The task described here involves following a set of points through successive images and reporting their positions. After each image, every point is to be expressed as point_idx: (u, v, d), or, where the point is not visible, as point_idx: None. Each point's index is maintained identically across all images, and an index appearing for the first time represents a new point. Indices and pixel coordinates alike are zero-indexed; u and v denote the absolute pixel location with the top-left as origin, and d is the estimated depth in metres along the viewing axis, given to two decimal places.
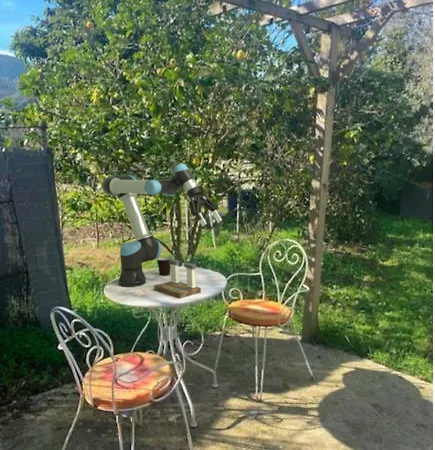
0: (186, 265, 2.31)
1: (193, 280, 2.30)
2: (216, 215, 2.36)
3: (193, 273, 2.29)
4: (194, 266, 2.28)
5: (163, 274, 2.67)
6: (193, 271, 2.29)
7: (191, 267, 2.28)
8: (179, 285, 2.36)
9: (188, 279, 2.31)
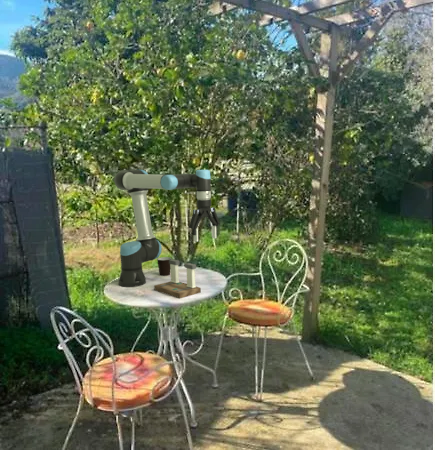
0: (186, 265, 2.31)
1: (193, 280, 2.30)
2: (214, 231, 2.38)
3: (193, 273, 2.29)
4: (194, 266, 2.28)
5: (163, 274, 2.67)
6: (193, 271, 2.29)
7: (191, 267, 2.28)
8: (179, 285, 2.36)
9: (188, 279, 2.31)
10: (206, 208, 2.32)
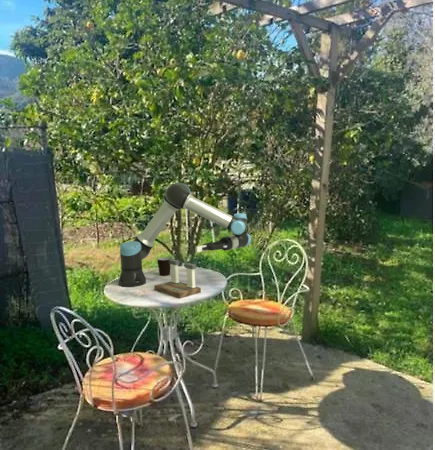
0: (186, 265, 2.31)
1: (193, 280, 2.30)
2: None
3: (193, 273, 2.29)
4: (194, 266, 2.28)
5: (163, 274, 2.67)
6: (193, 271, 2.29)
7: (191, 267, 2.28)
8: (179, 285, 2.36)
9: (188, 279, 2.31)
10: None
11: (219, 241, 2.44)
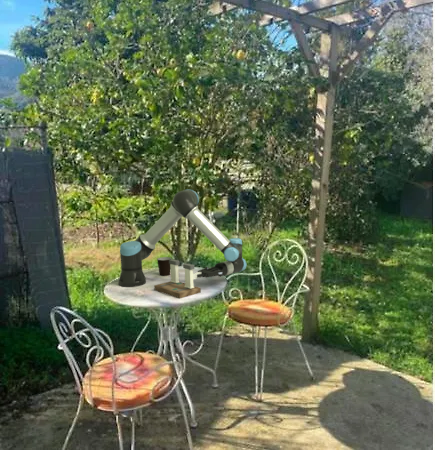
0: (184, 265, 2.30)
1: (191, 280, 2.29)
2: None
3: (191, 273, 2.28)
4: (192, 266, 2.27)
5: (163, 274, 2.67)
6: (191, 271, 2.28)
7: (189, 267, 2.27)
8: (179, 285, 2.36)
9: (186, 280, 2.30)
10: None
11: (214, 267, 2.43)
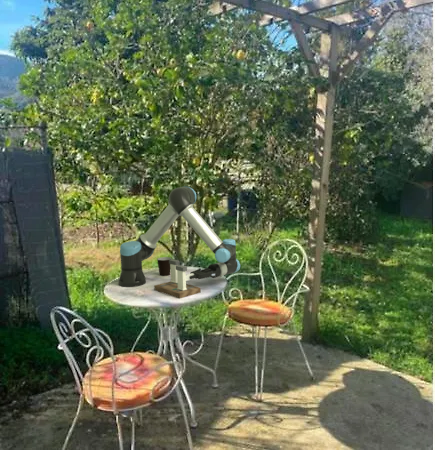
0: (177, 267, 2.26)
1: (184, 282, 2.25)
2: None
3: (184, 275, 2.25)
4: (185, 268, 2.24)
5: (163, 274, 2.67)
6: (184, 273, 2.25)
7: (182, 269, 2.24)
8: None
9: (179, 281, 2.27)
10: None
11: (207, 268, 2.40)
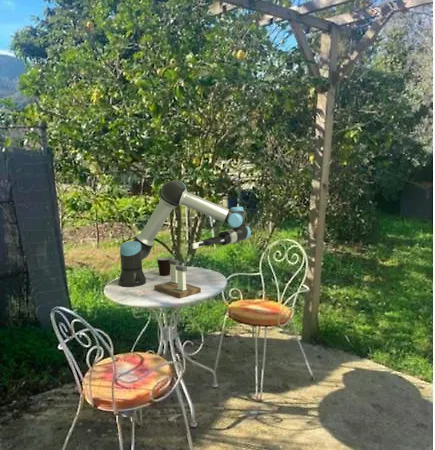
0: (177, 267, 2.26)
1: (184, 282, 2.25)
2: None
3: (184, 275, 2.25)
4: (185, 268, 2.24)
5: (163, 274, 2.67)
6: (184, 273, 2.25)
7: (181, 269, 2.24)
8: None
9: (178, 281, 2.27)
10: None
11: None
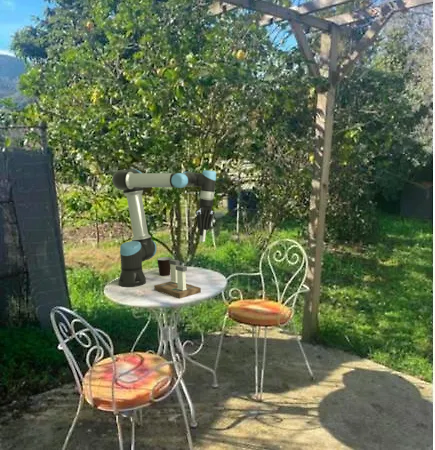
0: (177, 267, 2.26)
1: (184, 282, 2.25)
2: None
3: (184, 275, 2.25)
4: (185, 268, 2.24)
5: (163, 274, 2.67)
6: (184, 273, 2.25)
7: (181, 269, 2.24)
8: None
9: (178, 281, 2.27)
10: (207, 208, 2.42)
11: None
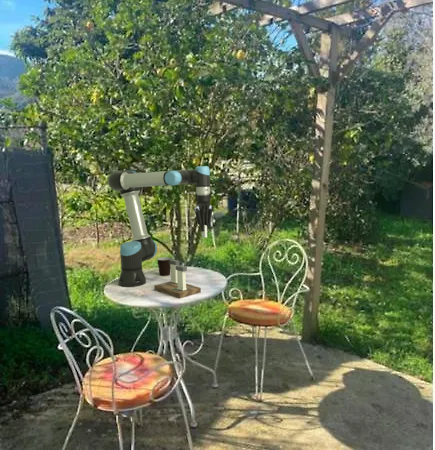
0: (177, 267, 2.26)
1: (184, 282, 2.25)
2: None
3: (184, 275, 2.25)
4: (185, 268, 2.24)
5: (163, 274, 2.67)
6: (184, 273, 2.25)
7: (181, 269, 2.24)
8: None
9: (178, 281, 2.27)
10: (205, 203, 2.42)
11: None
